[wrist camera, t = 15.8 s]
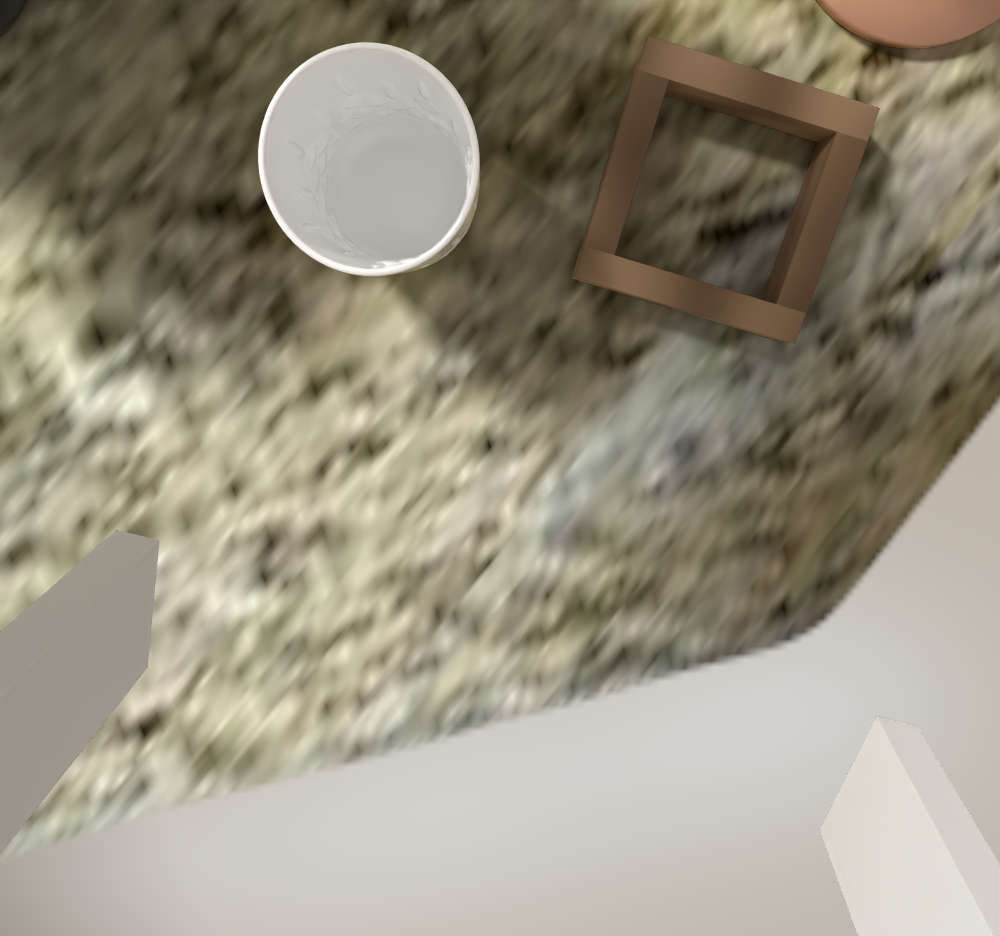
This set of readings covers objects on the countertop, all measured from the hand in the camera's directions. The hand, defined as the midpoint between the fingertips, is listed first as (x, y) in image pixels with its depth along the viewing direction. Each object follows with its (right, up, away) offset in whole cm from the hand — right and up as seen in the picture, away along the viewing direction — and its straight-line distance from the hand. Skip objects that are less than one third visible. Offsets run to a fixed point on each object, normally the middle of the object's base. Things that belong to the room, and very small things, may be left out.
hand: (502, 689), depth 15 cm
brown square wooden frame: (+10, +16, +24) cm, 31 cm away
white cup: (-5, +17, +25) cm, 30 cm away
